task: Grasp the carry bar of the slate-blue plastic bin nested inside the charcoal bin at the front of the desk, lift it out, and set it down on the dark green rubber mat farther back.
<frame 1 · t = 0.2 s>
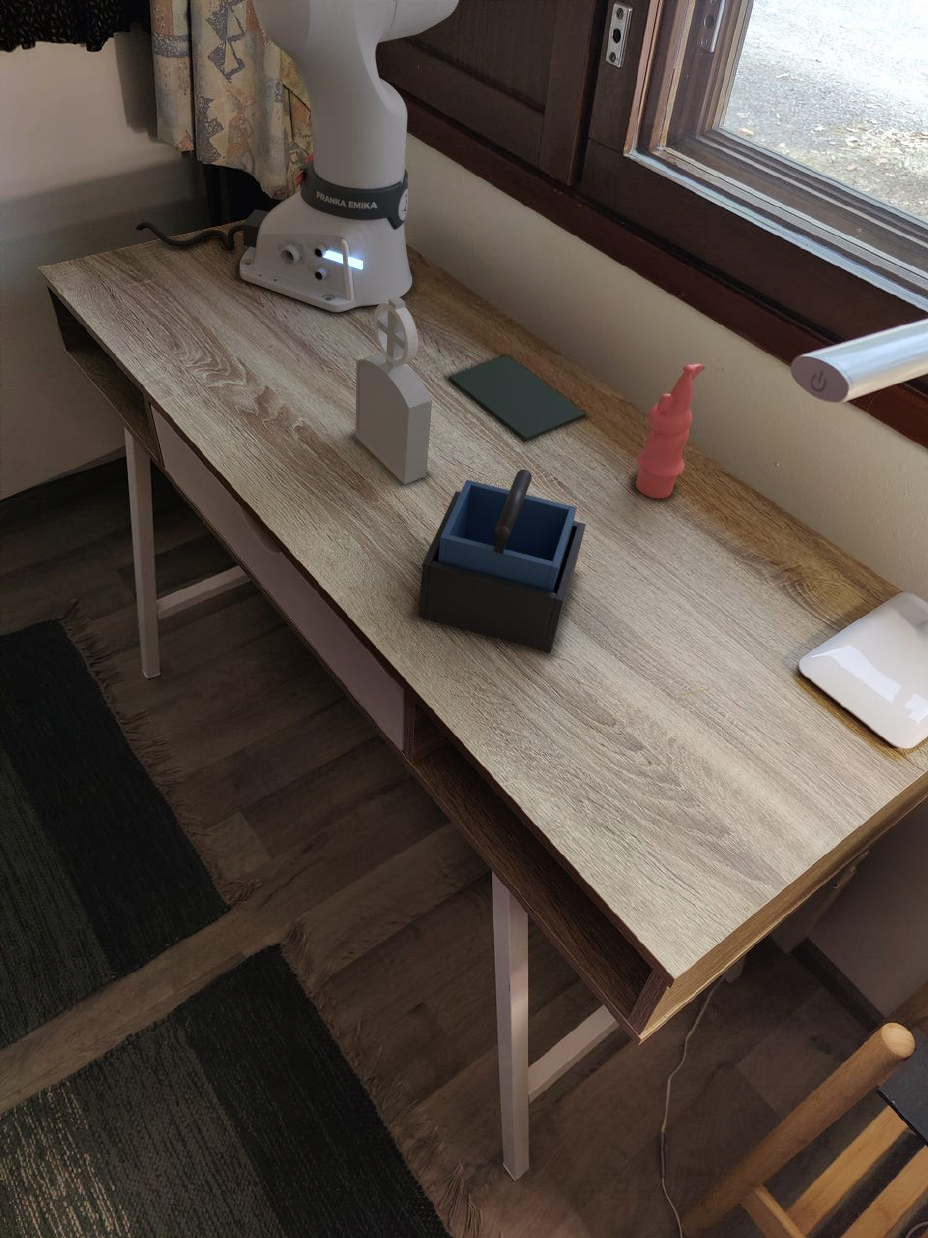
mat: (515, 397, 111), on the table
figurine: (653, 486, 102), on the table
charcoal bin: (497, 595, 89), on the table
gravestone: (390, 457, 102), on the table
blue bin: (498, 590, 88), point 1 cm above the table, touching charcoal bin
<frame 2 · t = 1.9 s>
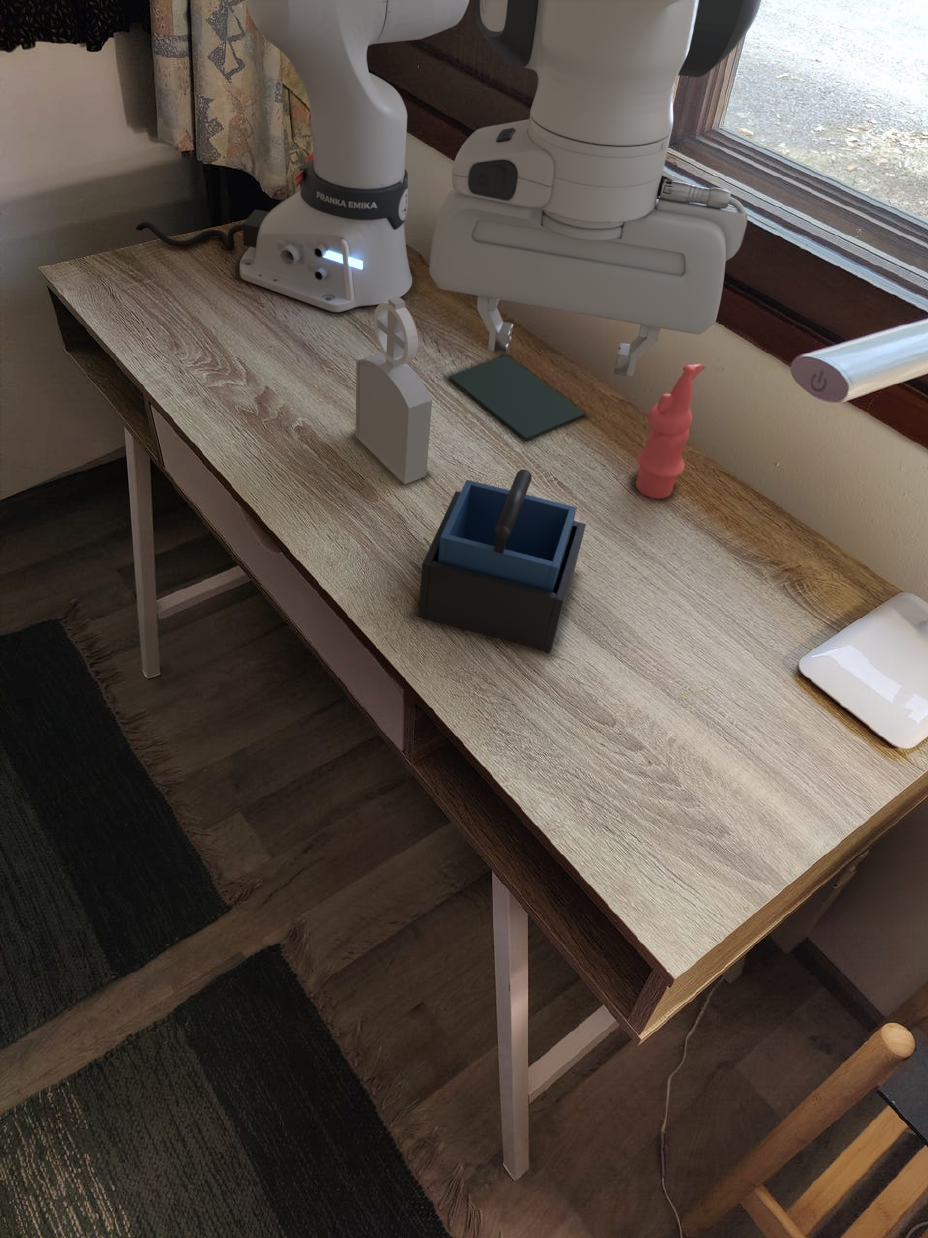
hand: (561, 360, 71), 25 cm above the table, tool pointing down, fingers open, 8 cm apart
nothing on the table moved.
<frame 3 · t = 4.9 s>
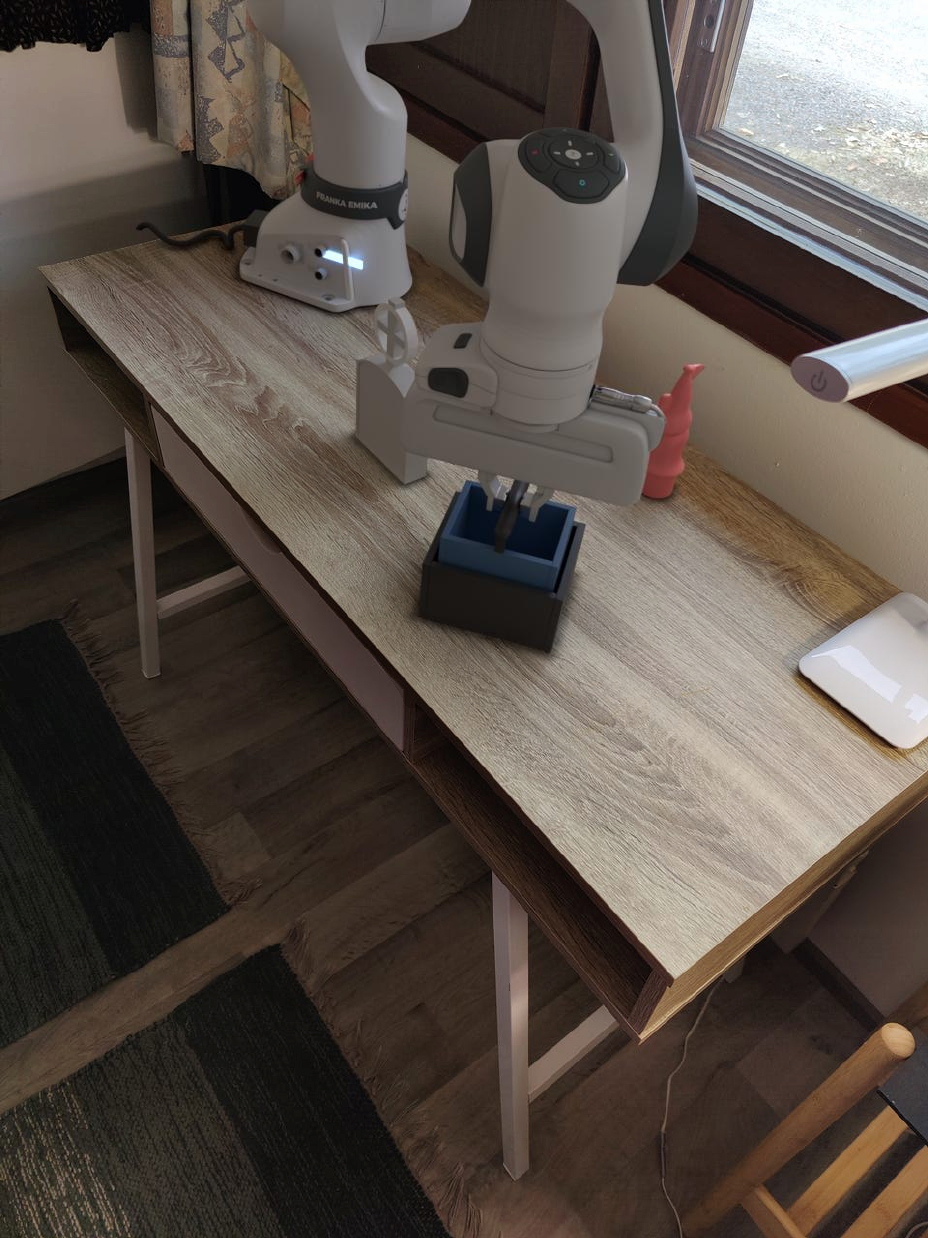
hand: (511, 511, 81), 10 cm above the table, tool pointing down, fingers closed on blue bin
blue bin: (498, 590, 88), point 1 cm above the table, touching charcoal bin, gripper
everything else where it was.
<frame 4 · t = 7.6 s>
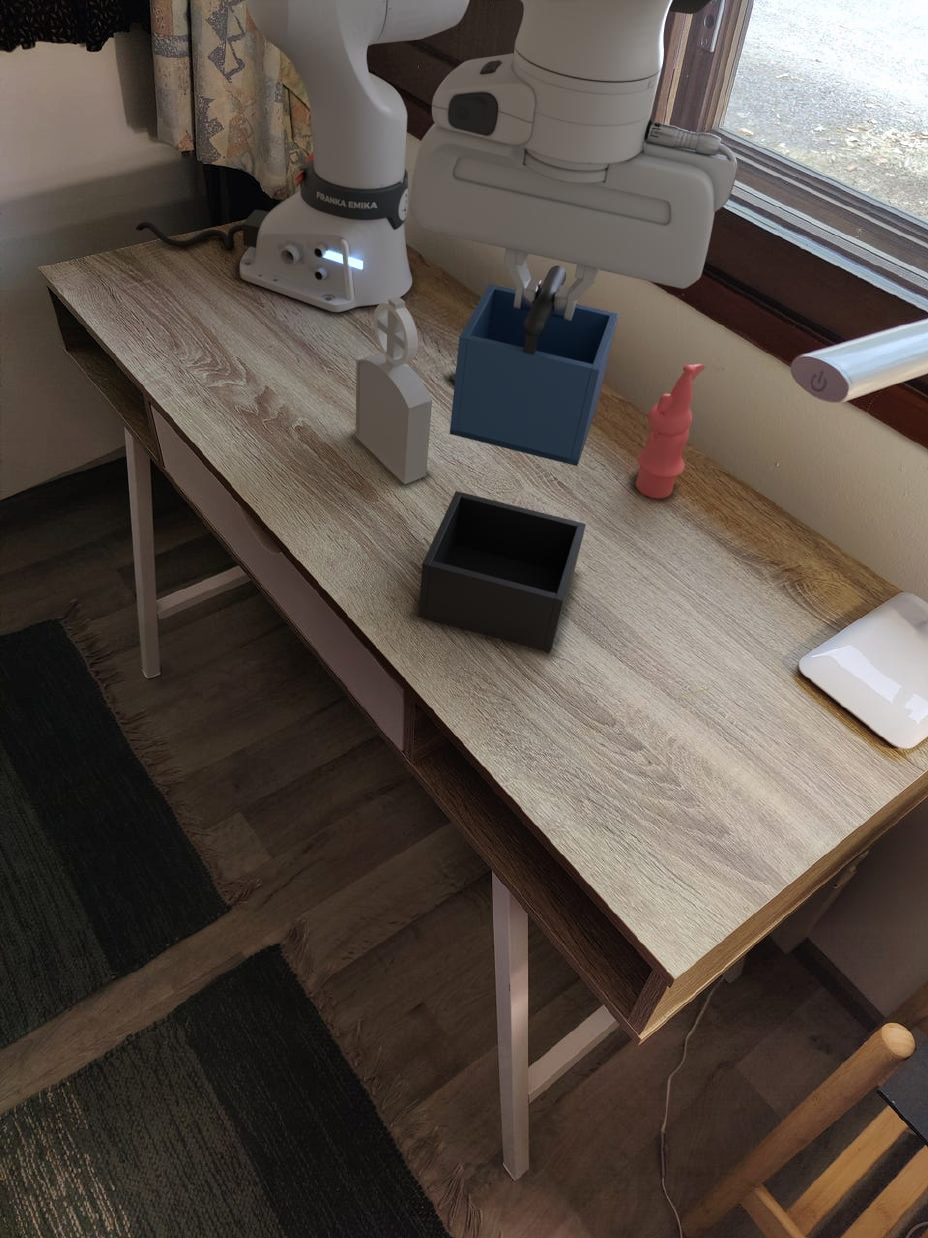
hand: (543, 310, 69), 29 cm above the table, tool pointing down, fingers closed on blue bin
blue bin: (525, 420, 76), point 19 cm above the table, touching gripper
everything else where it was.
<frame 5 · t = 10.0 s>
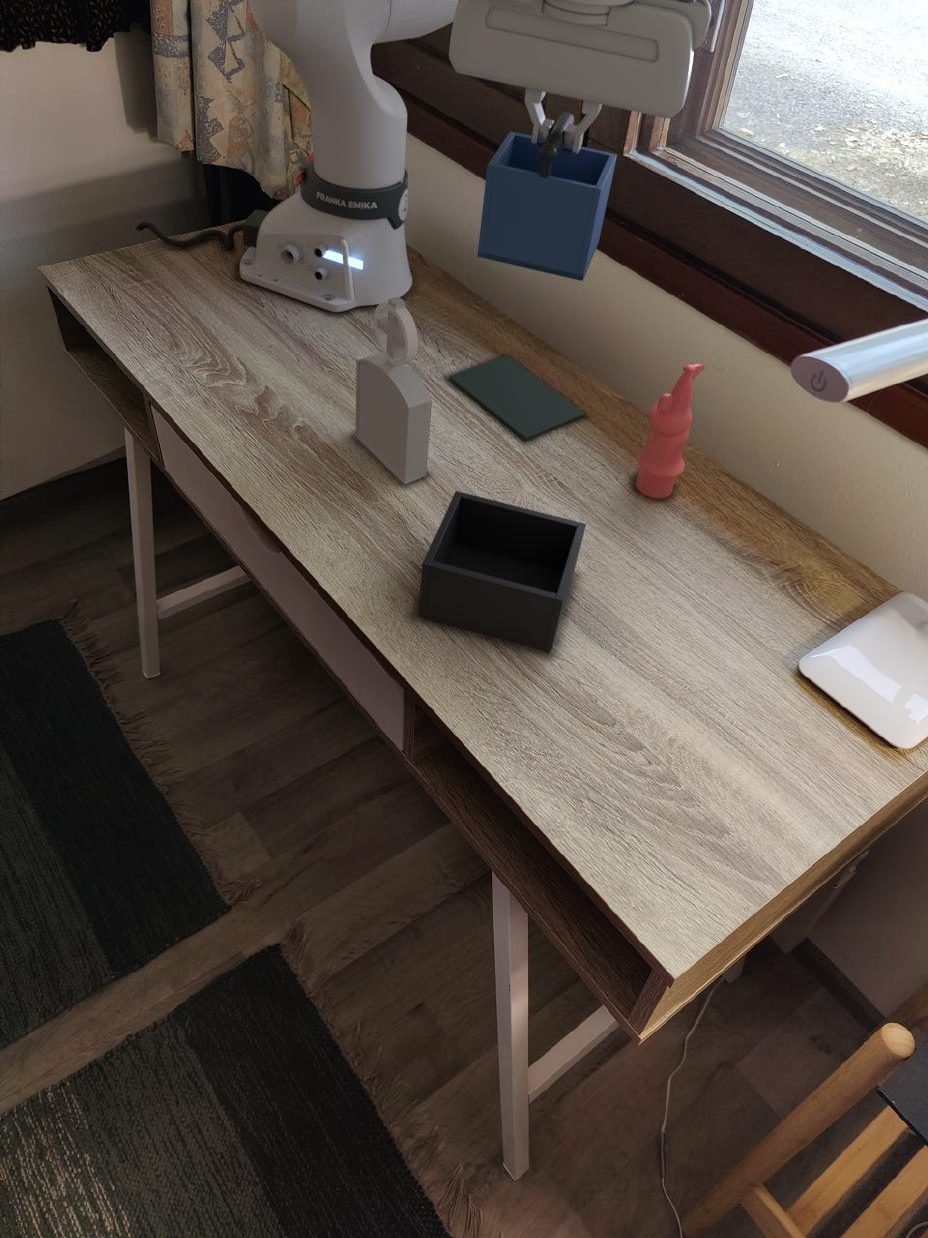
hand: (555, 146, 85), 31 cm above the table, tool pointing down, fingers closed on blue bin
blue bin: (539, 249, 92), point 21 cm above the table, touching gripper
everything else where it was.
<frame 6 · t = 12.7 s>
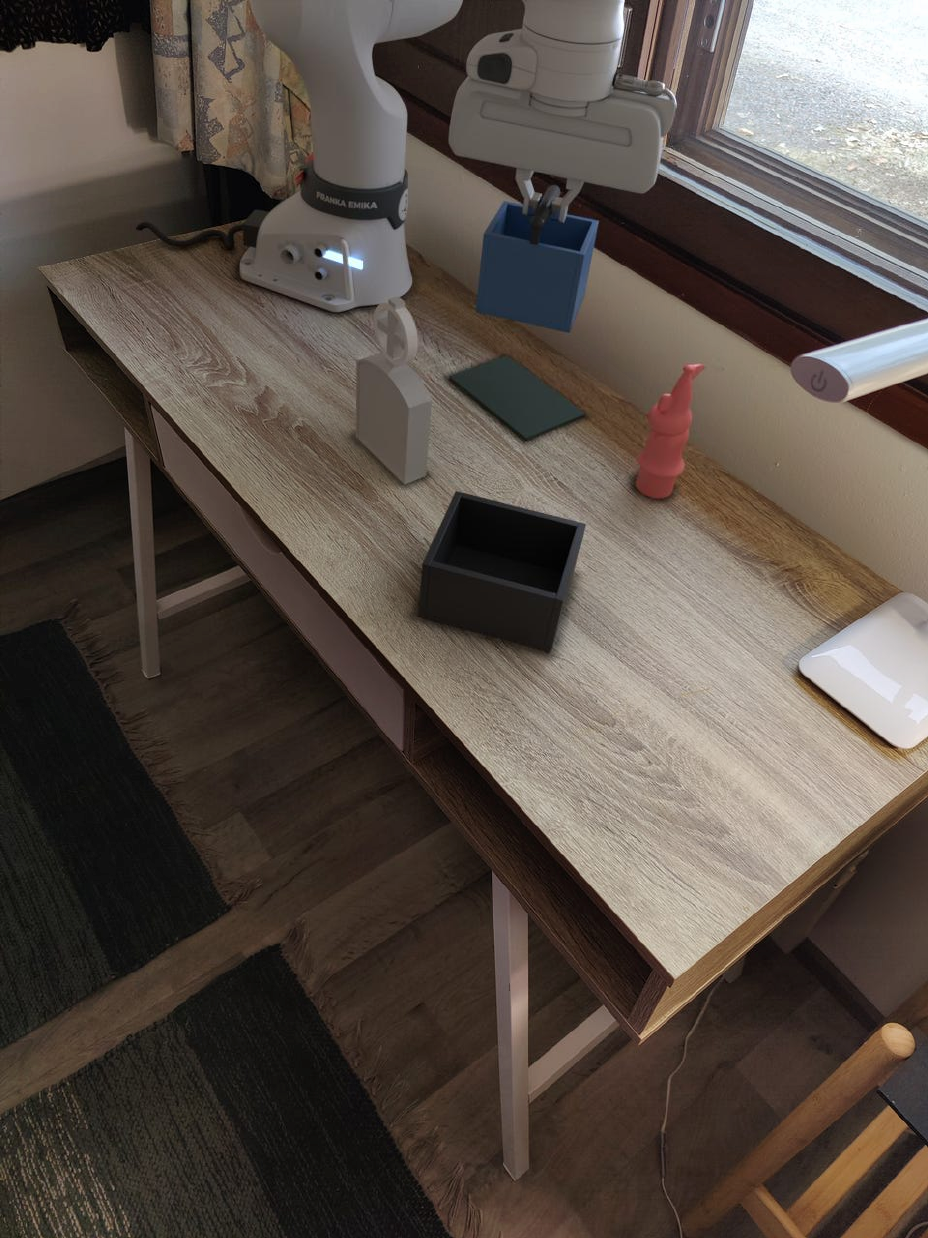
hand: (543, 216, 95), 21 cm above the table, tool pointing down, fingers closed on blue bin
blue bin: (530, 304, 102), point 12 cm above the table, touching gripper
everything else where it was.
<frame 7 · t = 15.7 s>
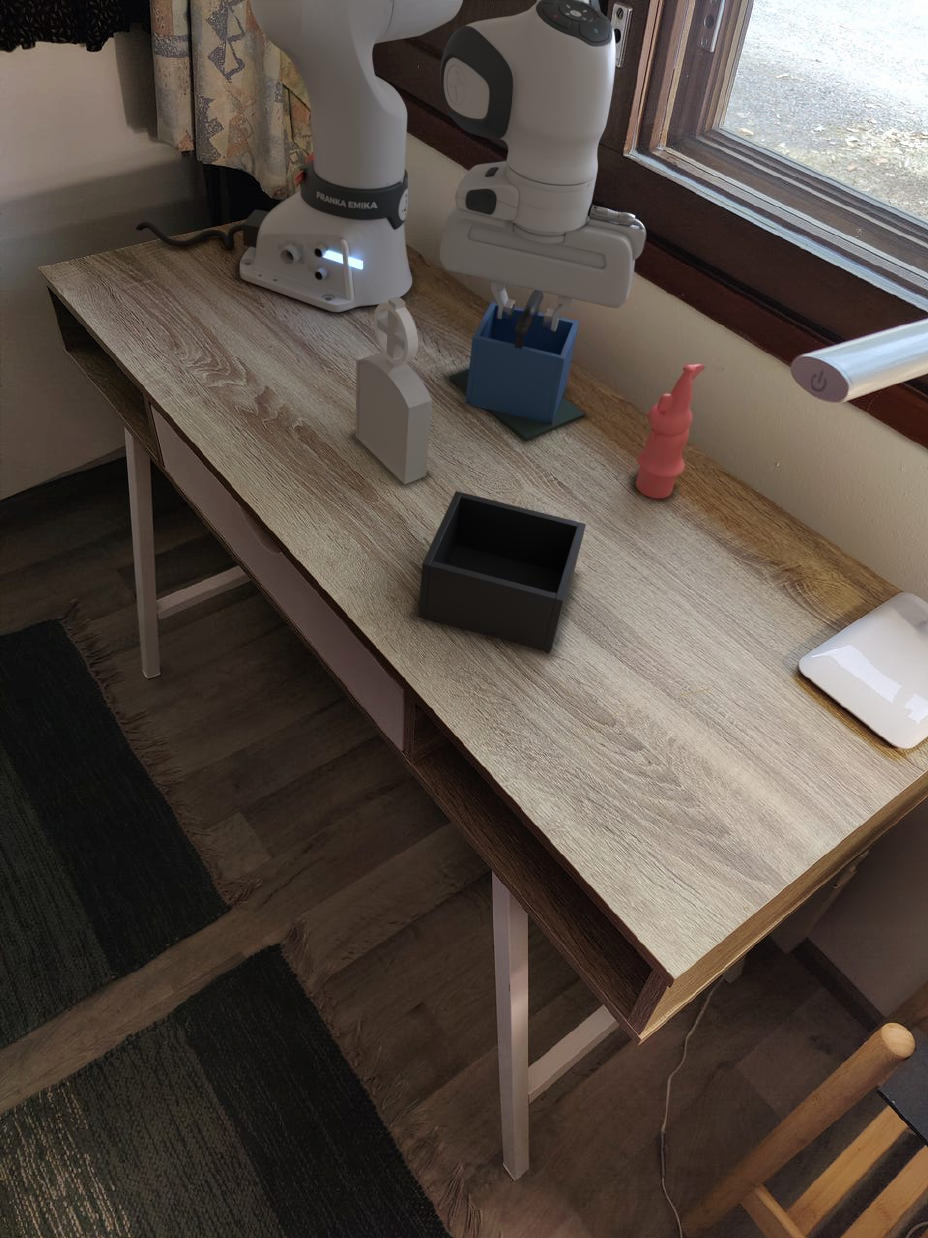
hand: (527, 322, 104), 10 cm above the table, tool pointing down, fingers open, 4 cm apart
blue bin: (516, 394, 111), resting on mat
everything else where it was.
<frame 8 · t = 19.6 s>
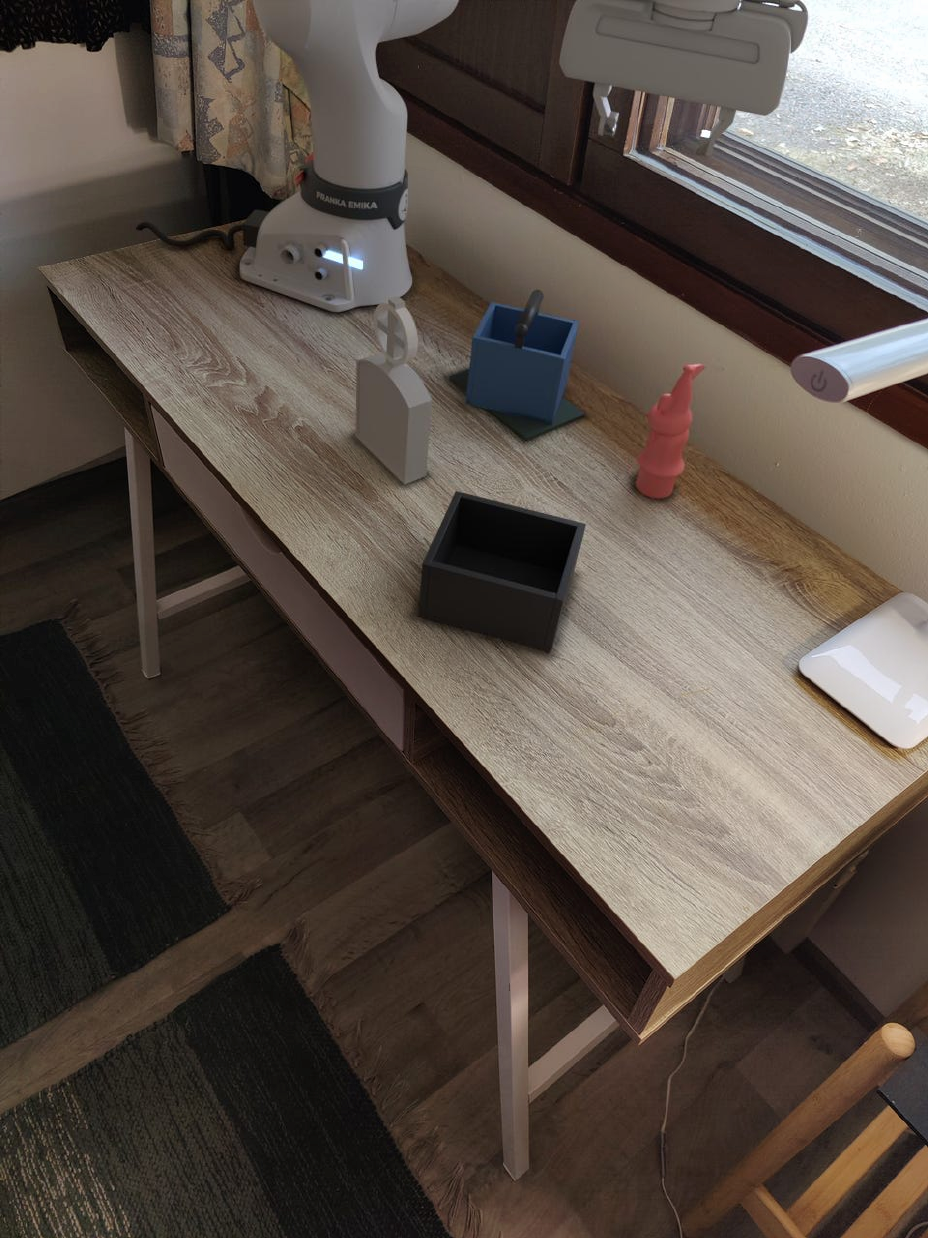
hand: (654, 144, 91), 29 cm above the table, tool pointing down, fingers open, 8 cm apart
nothing on the table moved.
at the end: blue bin inside the target area on the mat (0.1 cm from its centre), point 0.4 cm above the mat's base; blue bin tilted 0°; the gripper is holding nothing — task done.
